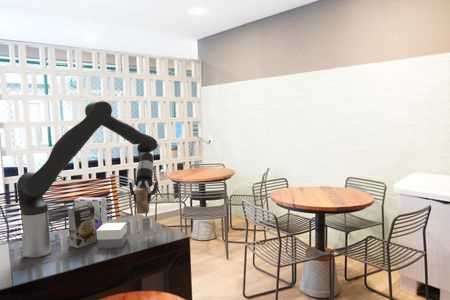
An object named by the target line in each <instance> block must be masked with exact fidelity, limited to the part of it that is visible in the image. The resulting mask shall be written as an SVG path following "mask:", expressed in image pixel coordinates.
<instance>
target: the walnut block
mask: <svg viewBox="0 0 450 300" xmlns="http://www.w3.org/2000/svg"><path fill="white" fill-rule="evenodd" d="M135 190H136V203H135V204H136V214H138V215H139V214H148V213H149V212H150V202H149V203H148V201H147V199H148V188H147V187H146V188H137V189H136V188H135Z"/></svg>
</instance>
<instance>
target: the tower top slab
mask: <svg viewBox="0 0 450 300" xmlns="http://www.w3.org/2000/svg"><path fill="white" fill-rule="evenodd" d="M96 231H97V234H96V241H98V240H105V239H121V238H122V237H123V236H124V234H125V233H126V232H127V231H128V226H127V222H107V223H104V224H103V225H102V226H101V227H100V228H98V229H97V230H96ZM127 233H128V232H127Z"/></svg>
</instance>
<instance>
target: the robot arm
mask: <svg viewBox="0 0 450 300" xmlns="http://www.w3.org/2000/svg"><path fill="white" fill-rule="evenodd" d="M84 114H85V117H84V119H82V120H81V121H80V122H78V123H77V124H76V125H74V126H73V127H71V128H70V129H69V130H67V131H66V132H65V133H64V134H63V135H62V136H61V137H60V138H59V139H58V140H57V141H56V142H55V144H54V145H53V147H52V149H51V150H50V151H51V152H50V154H49V156H48V158H47V159H46V162H45V163H43V164H42V165H41V167H40V168H39V169H38V170H37V171H36V172H25V173H23V174H22V175H21V176H20V177H19V178H18V180H17V186H16V187H17V197H18V204H19V207H20V210H21V215H22V216H21V217H22V229H23V232H21V244H22V257H23V258H24V257H26V258H30V259H33V258H42V257H44V256H46V255H49V254H51V252H52V245H51V233H50V221H49V220H50V219H49V206H48V204H47V202H46V200H45V199H44V195H45V194H46V193H47V192H48V191H49V189H50V188H51V186H53V183H54V182H55V181H56V180H57V178H58V177H59V175H60V174H61V172H62V171H63V170H64V169H65V168H66V167H67V166H68V165H69V163H70V162H71V161H72V159H74V158H75V156H77V154H78V153H79V152H80V151H81V149H82V148H83V147H84V146H85V145H86V144H87V142H88V141H89V140H90V139H91V137H92V136H93V135H94V134H95V133H96V132H97V130H98V129H99V128H101V126H103V127H104V128H106V129H107V130H109V131H112V132H113V133H115V134H117V135H118V136H120V137H122V138H123V140H126V141H127V142H129V143H130V144H131V145H134V146H137V148H136V149H137V153H138V164H137V170H136V178H135V181H134V182H129V183H128V186H129V187H128V188H129V193H130V195H131V196H132V197H133V202H134V203H135V204H136V189H137V188H146V187H147V188H148V199H147V201H148V203H149V204H150V202H151V201H152V196H155V195H156V194H157V191H158V188H159V181H155V182H154V181H153V178H154V177H153V176H154V155H153V154H152V152H153V151H155V150H156V149H158V146H159V144H158V141H157V139H156V138H155V137H153V136H150V135H148V134H146V133H143V132H141V131H139V130H137V129H136V128H135V127H133V126H132V125H130V124H128V123H126V122H124V121H121V120H120V119H117V118H115V117H113V116H112V115H113V108H112V106H111V104H110V103H109V102H108V101H104V100H96V101H92V102H90V103H87V105H86V106H85V109H84ZM152 186H153V188H152V190H151V187H152ZM134 187H136V188H135V190H134Z"/></svg>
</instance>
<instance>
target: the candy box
mask: <svg viewBox="0 0 450 300" xmlns="http://www.w3.org/2000/svg"><path fill="white" fill-rule="evenodd" d="M85 205H88V206H93V207H94V213H95V231H96V230H97V229H98V228H100V227H101V226H102V225H103V224H104V223H108V213H107V198H106V197H87V196H85V197H83V196H79V197H77V198H75V199H73V208H76V207H80V206H85ZM96 235H97V231H96Z"/></svg>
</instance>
